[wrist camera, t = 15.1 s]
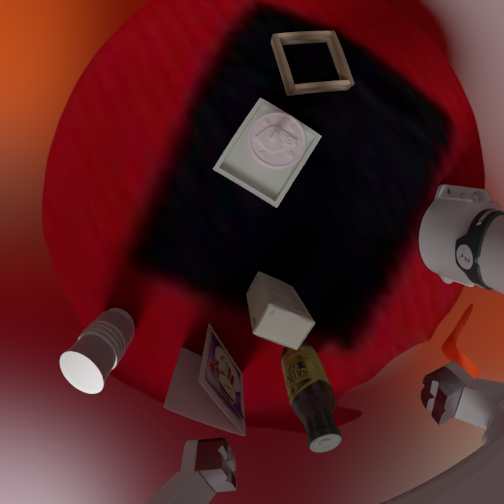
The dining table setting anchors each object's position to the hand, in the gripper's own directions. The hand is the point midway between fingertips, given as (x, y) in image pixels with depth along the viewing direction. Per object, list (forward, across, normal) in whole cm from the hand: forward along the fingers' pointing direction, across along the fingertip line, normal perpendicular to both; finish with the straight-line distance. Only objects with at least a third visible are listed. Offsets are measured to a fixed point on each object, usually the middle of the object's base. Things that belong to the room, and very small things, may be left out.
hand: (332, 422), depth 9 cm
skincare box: (+33, 0, -7) cm, 34 cm away
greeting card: (+33, -12, -16) cm, 39 cm away
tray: (+33, +4, +13) cm, 36 cm away
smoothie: (+32, +4, +13) cm, 35 cm away
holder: (+33, +14, +26) cm, 44 cm away
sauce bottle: (+33, +2, -20) cm, 39 cm away
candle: (+33, -26, -7) cm, 43 cm away
